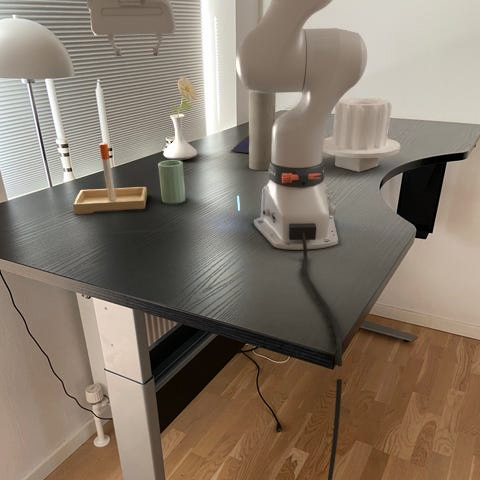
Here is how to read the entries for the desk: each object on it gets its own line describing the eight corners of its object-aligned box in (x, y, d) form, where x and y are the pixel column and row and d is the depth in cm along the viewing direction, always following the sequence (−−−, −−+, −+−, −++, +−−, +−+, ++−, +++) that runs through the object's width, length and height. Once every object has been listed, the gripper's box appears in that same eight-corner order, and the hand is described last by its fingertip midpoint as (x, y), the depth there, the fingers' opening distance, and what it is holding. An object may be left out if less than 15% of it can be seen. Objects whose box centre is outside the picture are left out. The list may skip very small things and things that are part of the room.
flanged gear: (412, 166, 151) (424, 101, 141) (364, 182, 138) (373, 112, 127) (349, 152, 167) (355, 93, 157) (300, 165, 153) (304, 102, 143)
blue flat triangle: (321, 136, 183) (321, 126, 180) (294, 165, 162) (294, 154, 160) (263, 131, 192) (263, 122, 189) (230, 158, 171) (229, 148, 169)
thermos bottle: (275, 164, 156) (277, 67, 140) (272, 171, 149) (274, 70, 134) (251, 163, 157) (251, 67, 142) (247, 170, 150) (246, 70, 135)
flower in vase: (174, 164, 157) (167, 80, 144) (158, 157, 165) (149, 77, 151) (207, 158, 163) (203, 77, 150) (190, 152, 171) (185, 74, 158)
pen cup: (186, 204, 124) (182, 165, 119) (162, 206, 123) (157, 167, 118) (185, 197, 129) (182, 159, 124) (162, 198, 129) (158, 160, 123)
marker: (116, 202, 124) (106, 144, 116) (108, 202, 124) (98, 144, 116) (116, 199, 126) (107, 142, 118) (109, 200, 126) (99, 143, 118)
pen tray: (145, 210, 121) (143, 200, 120) (75, 214, 119) (72, 204, 118) (147, 196, 130) (146, 186, 129) (82, 199, 129) (80, 190, 127)
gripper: (82, -12, 108) (93, 58, 116) (172, -13, 110) (177, 55, 118) (86, -10, 114) (97, 56, 121) (172, -12, 115) (177, 54, 123)
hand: (137, 55), depth 119 cm, fingers open, 8 cm apart
